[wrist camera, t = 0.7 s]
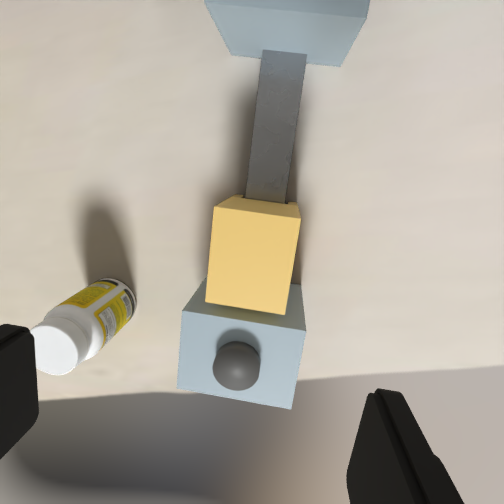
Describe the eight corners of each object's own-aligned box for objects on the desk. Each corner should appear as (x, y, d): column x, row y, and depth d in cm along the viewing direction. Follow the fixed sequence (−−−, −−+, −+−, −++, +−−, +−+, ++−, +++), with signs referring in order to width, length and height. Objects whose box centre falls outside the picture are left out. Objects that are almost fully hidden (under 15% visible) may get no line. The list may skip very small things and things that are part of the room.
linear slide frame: (358, -33, 21) (405, -167, 13) (290, 345, 29) (291, 420, 21) (240, -43, 22) (210, -178, 13) (205, 331, 30) (171, 398, 21)
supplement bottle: (80, 301, 31) (5, 350, 22) (106, 266, 29) (37, 305, 21) (119, 333, 31) (60, 392, 23) (147, 300, 30) (95, 351, 22)
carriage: (297, 202, 26) (301, 218, 18) (285, 272, 27) (284, 314, 20) (235, 194, 26) (214, 206, 18) (228, 263, 28) (205, 302, 20)
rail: (305, 63, 23) (307, 54, 21) (272, 280, 28) (271, 289, 26) (264, 58, 23) (262, 49, 22) (238, 275, 28) (235, 283, 26)
